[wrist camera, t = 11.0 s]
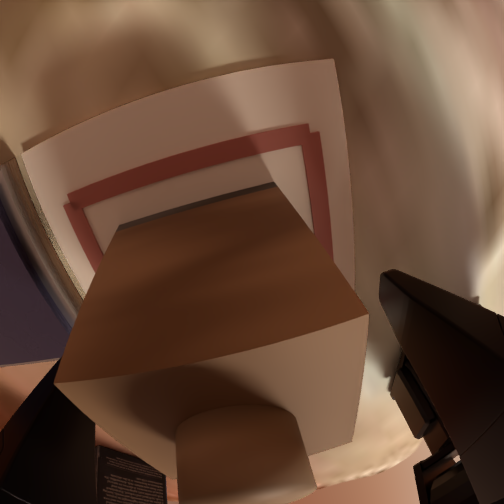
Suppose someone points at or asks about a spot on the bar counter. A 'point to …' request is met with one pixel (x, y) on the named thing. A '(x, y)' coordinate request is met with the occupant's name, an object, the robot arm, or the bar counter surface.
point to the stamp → (221, 348)
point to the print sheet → (201, 158)
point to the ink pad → (30, 281)
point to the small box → (127, 479)
